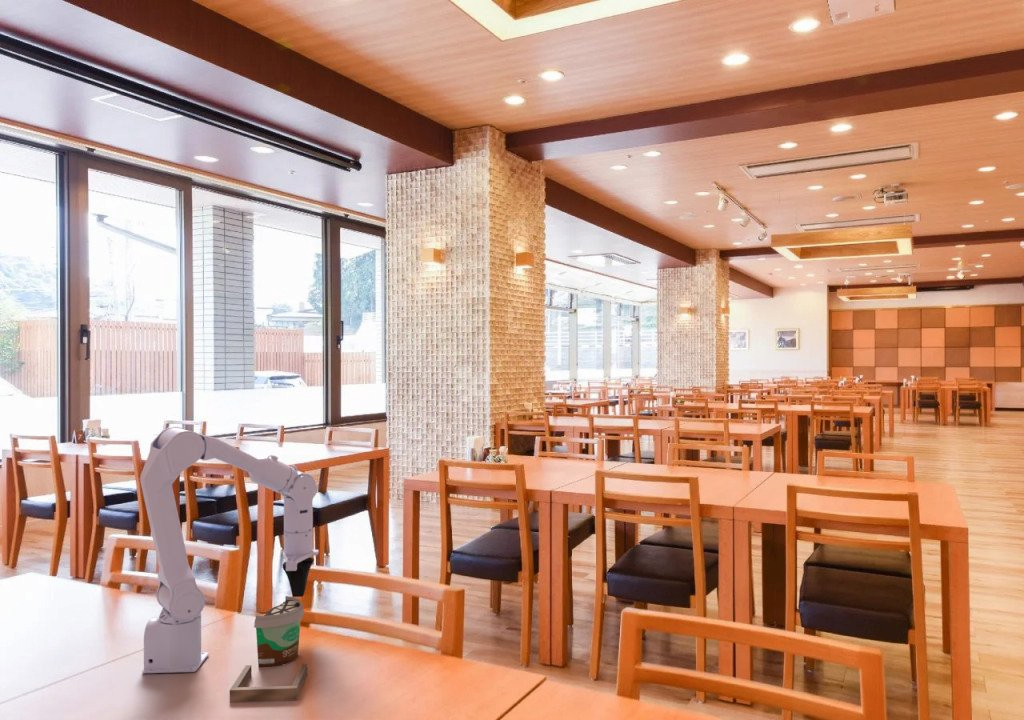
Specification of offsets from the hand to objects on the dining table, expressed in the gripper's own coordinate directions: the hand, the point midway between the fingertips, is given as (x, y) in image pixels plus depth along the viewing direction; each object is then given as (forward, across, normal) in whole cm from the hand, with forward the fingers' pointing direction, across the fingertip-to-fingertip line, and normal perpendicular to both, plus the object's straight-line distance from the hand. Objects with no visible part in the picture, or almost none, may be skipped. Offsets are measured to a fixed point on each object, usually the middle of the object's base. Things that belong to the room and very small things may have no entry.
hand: (298, 595), depth 156 cm
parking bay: (+8, -24, 0) cm, 25 cm away
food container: (+8, -12, 0) cm, 14 cm away
